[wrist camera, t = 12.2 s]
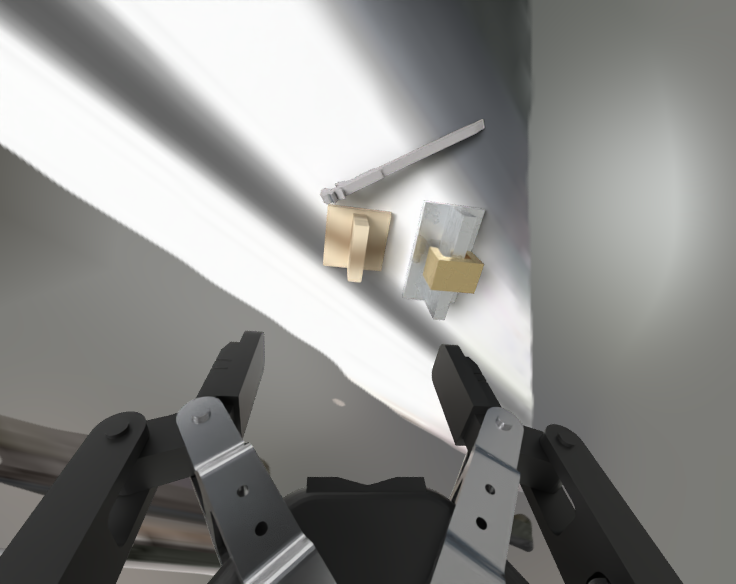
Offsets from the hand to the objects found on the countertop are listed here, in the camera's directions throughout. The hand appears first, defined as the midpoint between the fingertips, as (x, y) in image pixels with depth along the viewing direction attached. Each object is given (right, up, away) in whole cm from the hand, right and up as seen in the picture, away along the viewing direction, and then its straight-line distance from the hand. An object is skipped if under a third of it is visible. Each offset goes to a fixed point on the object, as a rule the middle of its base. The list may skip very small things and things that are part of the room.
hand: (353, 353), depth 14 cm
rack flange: (+11, +8, +29) cm, 32 cm away
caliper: (+5, +19, +23) cm, 30 cm away
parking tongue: (-1, +10, +27) cm, 28 cm away
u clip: (+11, +7, +26) cm, 29 cm away
